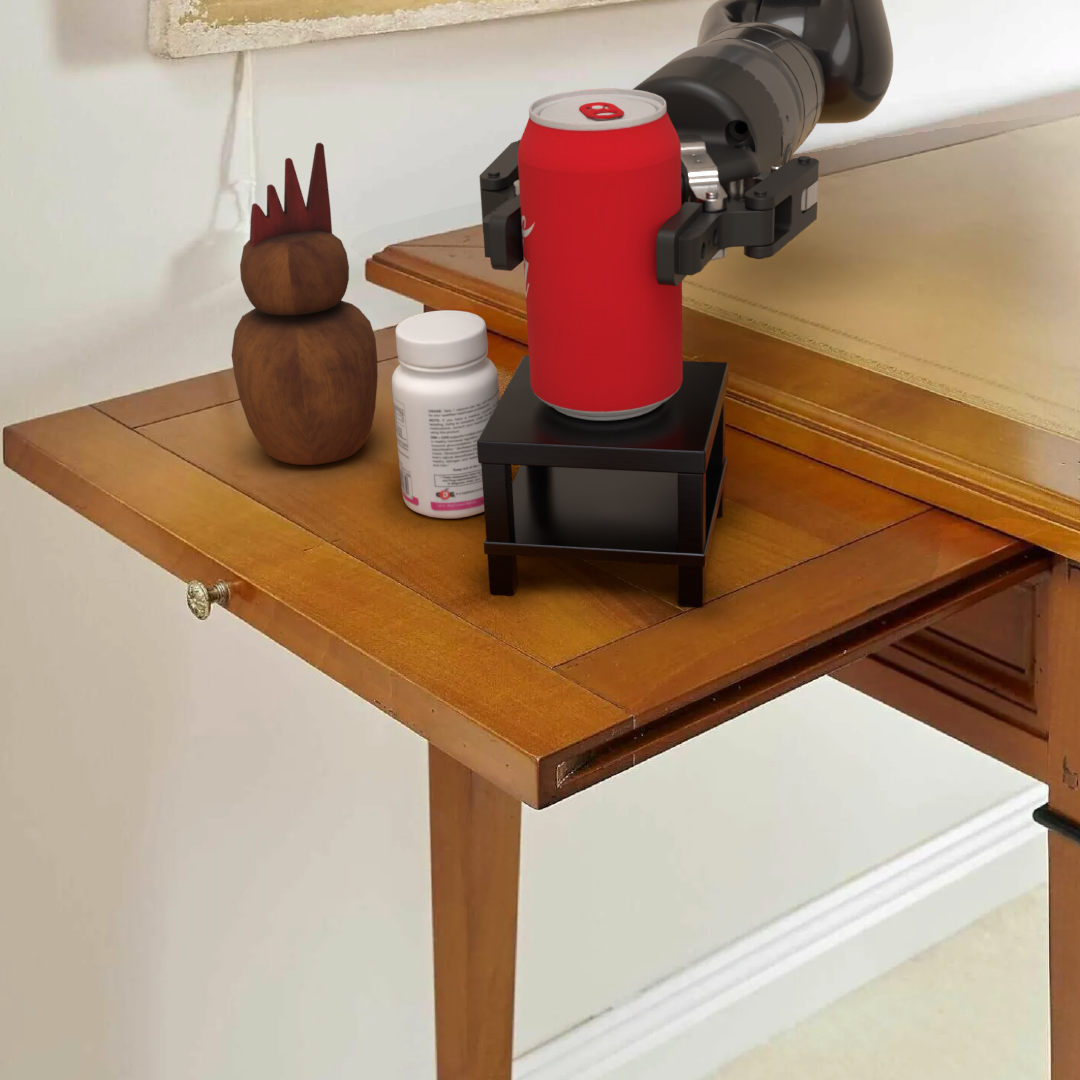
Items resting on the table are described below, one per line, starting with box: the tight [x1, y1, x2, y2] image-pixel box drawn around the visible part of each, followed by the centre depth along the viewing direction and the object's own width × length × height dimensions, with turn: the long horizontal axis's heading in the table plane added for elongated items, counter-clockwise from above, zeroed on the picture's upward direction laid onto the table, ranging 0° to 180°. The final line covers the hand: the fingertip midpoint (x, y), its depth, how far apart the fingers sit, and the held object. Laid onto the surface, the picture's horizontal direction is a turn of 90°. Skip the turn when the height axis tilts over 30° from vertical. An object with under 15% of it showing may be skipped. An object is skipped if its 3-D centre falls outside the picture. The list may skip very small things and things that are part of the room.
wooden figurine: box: [231, 142, 379, 466], centre depth 77 cm, size 7×6×15 cm
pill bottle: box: [391, 309, 500, 519], centre depth 73 cm, size 5×5×8 cm
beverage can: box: [518, 87, 684, 421], centre depth 64 cm, size 6×6×12 cm
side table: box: [477, 354, 730, 608], centre depth 69 cm, size 9×9×7 cm
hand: (581, 253), depth 62 cm, fingers closed on beverage can, 6 cm apart
